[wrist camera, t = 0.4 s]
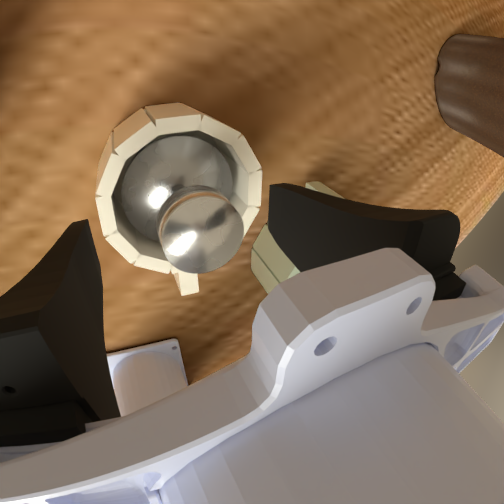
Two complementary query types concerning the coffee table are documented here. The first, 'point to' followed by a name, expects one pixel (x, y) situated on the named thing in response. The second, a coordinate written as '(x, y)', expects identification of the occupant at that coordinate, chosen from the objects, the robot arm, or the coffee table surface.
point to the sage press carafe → (276, 252)
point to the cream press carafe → (141, 134)
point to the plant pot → (473, 88)
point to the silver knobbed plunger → (184, 202)
